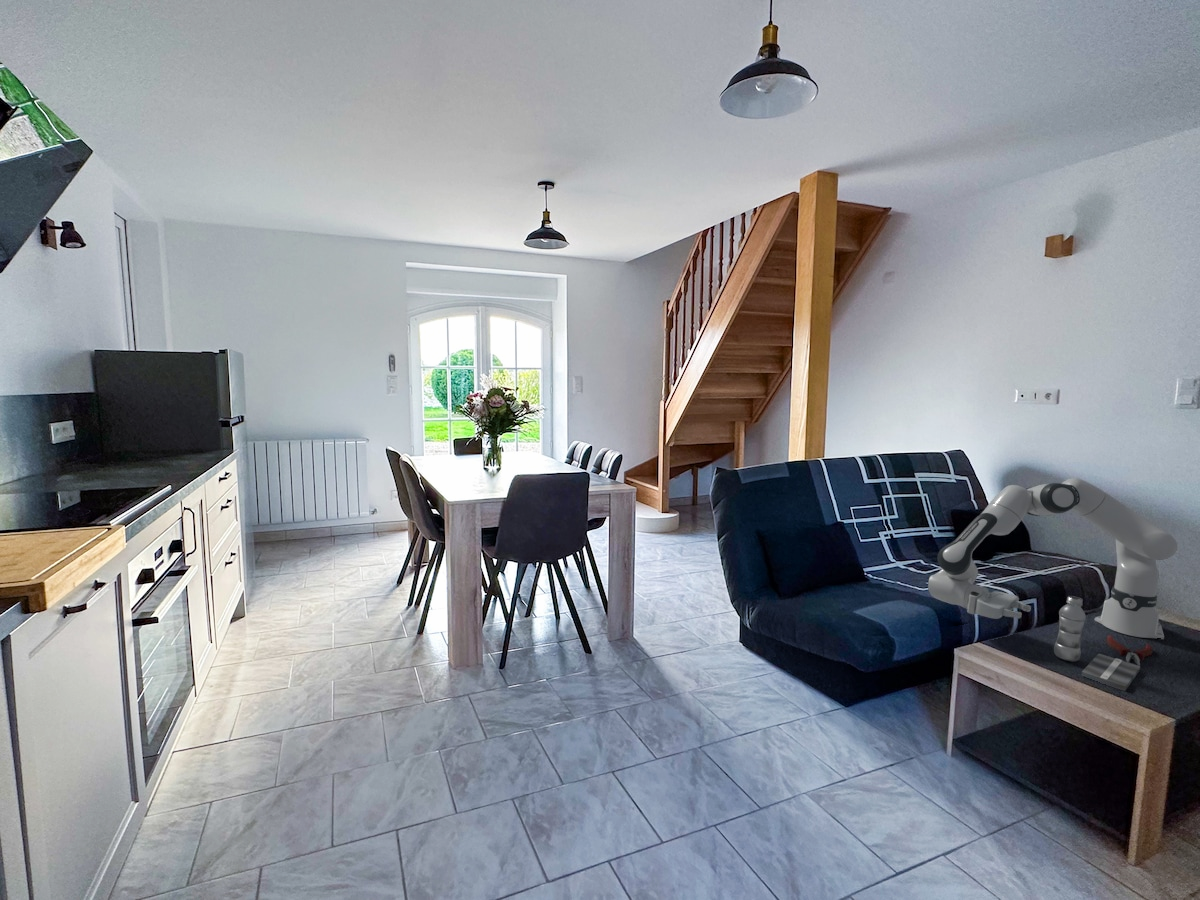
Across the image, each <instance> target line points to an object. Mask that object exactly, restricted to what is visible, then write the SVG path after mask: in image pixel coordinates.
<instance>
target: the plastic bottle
mask: <svg viewBox="0 0 1200 900" xmlns="http://www.w3.org/2000/svg"><path fill="white" fill-rule="evenodd" d="M1083 601H1084V600H1083V598H1081V597H1078V596H1074V595H1068V596H1067V598H1066V601H1065V603H1067V604H1065V605H1063V606H1062V607H1061V608H1060V609H1059V610H1058V615H1059V618H1058V619H1059V620H1058V621H1059V625H1058V626H1059V628H1058V632H1057V633H1058V634H1057V639H1056V641H1055V642H1054V647H1053V653H1054V655H1055V656H1056V657H1057V658H1059V659H1061V660H1064V661H1067V662H1077V661H1079V660H1080V658H1081V655H1082V654H1081V652H1082V651H1081V636H1082V631H1083V628H1084V625H1085V622H1086V618H1087V616H1086V613H1085V611H1084V610H1083V608H1082V607H1083Z"/></svg>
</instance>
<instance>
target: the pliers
mask: <svg viewBox="0 0 1200 900" xmlns="http://www.w3.org/2000/svg"><path fill="white" fill-rule="evenodd" d="M1106 637H1107V638H1106V643H1107V645H1108V646H1109V647H1111V648H1112V649H1114V650H1115V651H1116V652H1119V653H1118V654H1119V655H1120V656H1124V657H1125V662H1128V663H1130V661H1131V660H1132V661H1134V664H1135V665H1138V666H1140V667H1141V663H1140V662H1141V661H1144V659H1145V657H1149V655H1150V656H1151V655H1153V652H1154V650H1153V648H1152V646H1151V645H1150V644H1148V643H1146V645H1145V648H1142V649H1139V650H1133V652H1132V651H1131V650H1130V648H1127V647H1126V646H1124V645H1123V644H1121V643H1119V642H1118V641H1116V639H1115V640H1114V638H1113V635H1108V636H1106Z"/></svg>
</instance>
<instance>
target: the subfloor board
mask: <svg viewBox="0 0 1200 900" xmlns="http://www.w3.org/2000/svg"><path fill="white" fill-rule="evenodd" d="M1140 671H1141V665H1140V666H1139V665H1137V664H1136V663H1131V662H1129V663H1128V662H1127V661H1126V660H1123V659H1120V658H1117V657H1116V658H1115V657H1113V656H1112V657H1111V656H1108V655H1104V654H1101V653H1098V654H1096V656H1095V657H1094V658H1093V659H1092V660H1091V661H1090V662H1089V663H1088V664H1087V666H1085V668H1083V670H1082V671H1081V675H1082V676H1085V677H1087V678H1090V679H1092V680H1091V681H1093V680H1095V681H1094V682H1096V681H1098V682H1097V683H1099V682H1100V684H1103V685H1105V684H1106V686H1108V687H1112V688H1114V689H1118V690H1120V691H1123V692H1126V691H1127V689H1128V688H1129V687H1130V685H1131V683H1133V681H1134V679H1135V678H1136V676H1138V674H1139V672H1140ZM1081 675H1080V676H1081ZM1087 678H1086V679H1087ZM1090 679H1089V680H1090Z"/></svg>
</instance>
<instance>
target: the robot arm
mask: <svg viewBox="0 0 1200 900" xmlns="http://www.w3.org/2000/svg"><path fill="white" fill-rule="evenodd" d="M1070 510H1072V511H1073V512H1075V513H1076V514H1078V516H1080V517H1081V518H1082V519H1084V520H1086V521H1088V522H1089V523H1090V524H1092V525H1094V526H1095V527H1096V528H1097V529H1099V530H1101V531H1102V532H1104V533H1106V534H1107V535H1109V536H1111V537H1112V538H1113V539H1115V549H1116V550H1115V551H1116V561H1117V562H1116V573H1115V580H1114V585H1113V586H1112V589H1111V591H1110V593H1111V594H1110V596H1111V597H1110V598H1108V599H1106V600H1104V602H1103V606H1102V607H1103V608H1102V612H1101V615H1099V616H1095V618H1094V622H1097V623H1099V624H1101V625H1102V626H1104V627H1105V628H1108V629H1109V630H1111V631H1114V632H1117V633H1120V634H1124V635H1126V636H1127V635H1128V636H1131V637H1136V638H1145V639H1157V638H1161V639H1160V640H1165V635H1164V631H1163V627H1162V625H1161V623H1160V622H1159V620H1160V613H1159V612H1158V610H1157V609H1156V607H1157V606H1156V605H1157V603H1158V596H1157V590H1158V584H1159V580H1160V572H1159V569H1158V567H1157V563H1156V562H1157V561H1165V560H1168V559H1170V558H1171V557H1173V556H1174V555H1175V554H1176V553H1177V550H1178V542H1177V540H1176V539H1175V538H1174V536H1173V535H1172V534H1171V533H1169V532H1168V531H1167V530H1166V529H1164V528H1163V527H1161V526H1159V525H1157V524H1156V523H1154V522H1153V521H1151V520H1149V519H1148V518H1147V517H1145V516H1143V515H1141V514H1140V513H1138V512H1137V511H1135V510H1133V509H1131V508H1130V507H1128V506H1127V505H1125V504H1123V503H1122V502H1121V501H1119V500H1117V499H1116V498H1114V497H1113V496H1111V495H1110V494H1108V493H1107V492H1106V491H1104V490H1103V489H1100V488H1099V487H1098V486H1096V485H1094V484H1092V483H1090V482H1088V481H1085V480H1083V479H1081V478H1079V477H1071V478H1068V479H1066V480H1064V481H1062V482H1060V483H1059V482H1052V483H1044V484H1043V483H1042V484H1039V485H1036V486H1031V487H1027V488H1025V487H1023V486H1021V485H1017V484H1009V485H1006V487H1004V488H1003V489H1002V490H1001V491H999V492H998V493H997V494H996V495H995V496H994V497H993V499H991V501H990V502H989V503H988V505H987V506H986V507H985V508H984V510H983V511H982V512H981V513H980V514H979V515H977V516H976V517H975V518H974V519H973V520H972V521H971V522H970V523H969V524H968V525H967V527H966V528H964V530H963V531H962V532H961V533H960V534H959V535H958V536H957V537H956V538H955V539H954V540H953V541H951V542H950V543H948V544H946V545H945V546H943V547H942V548H940V550H939V551H938V553H937V559H936V561H937V563H938V565H939V567H940V568H941V569H940V570H939V571H937V572H936V573H935V574H932V575H931V574H930V576H929V578H928V580H927V590H928V592H929V594H930V595H931V597H932V598H934V599H936V600H939V601H941V602H944V603H946V604H947V603H948V604H950V605H953V606H954V605H957V606H960V607H962V608H964V609H966V611H967V614H970V615H977V616H981V617H985V618H988V619H989V618H990V619H994V620H998V619H1000V618H1002V617H1003V616H1004V617H1007V618H1016V619H1018V620H1019V619H1021V618H1022V615H1023V614H1022V612H1021V611H1017V610H1014V609H1020V610H1022V611H1024V612H1027V613H1029V612H1031V610H1032V606H1031V605H1029V604H1025V603H1023V601H1019V599H1020V598H1019V596H1017V595H1015V594H1011V593H1008V592H1007V593H1006V592H1003V591H999V590H998V591H997V590H996V591H995V590H993V591H992V592H990V591H989V589H988V588H987V587H984V586H981V585H978V584H974V583H975V582H976V580H977V578H978V575H979V569H978V567H977V565H976V563H975V562H974V560H973V552H974V551H975V550H976V548H978V546H979V545H980V544H981V543H982V542H983V541H984V540H985V538H986V537H988V536H990V535H994V536H1006V535H1009V534H1010V533H1011V532H1012V531H1014V530H1015V529H1016V528H1017V526H1019V525H1020V522H1022V520H1023V519H1024V517H1025V516H1026V515H1030V516H1036V517H1041V516H1053V515H1058V514H1063V513H1066V512H1068V511H1070Z"/></svg>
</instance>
